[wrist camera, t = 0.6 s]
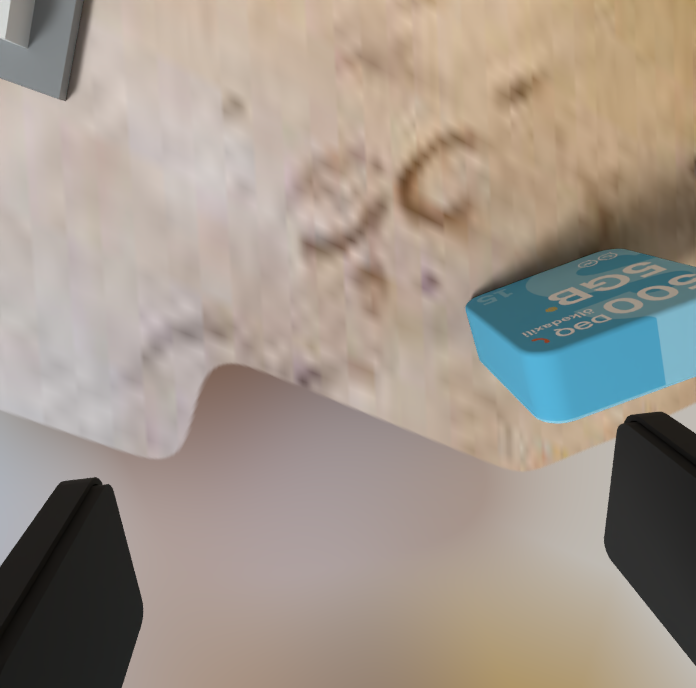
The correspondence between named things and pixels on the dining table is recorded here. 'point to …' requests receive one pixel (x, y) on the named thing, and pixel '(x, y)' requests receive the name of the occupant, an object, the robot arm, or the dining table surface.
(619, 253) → the data package
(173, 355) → the dining table surface
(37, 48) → the tray
